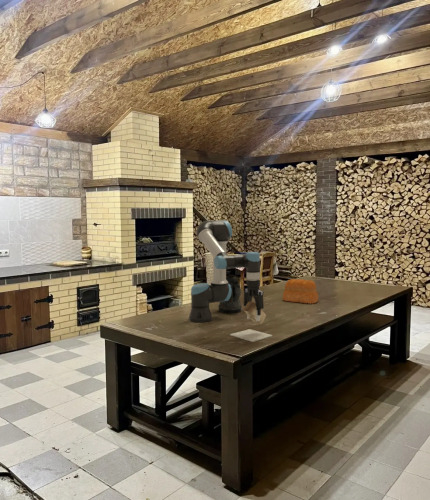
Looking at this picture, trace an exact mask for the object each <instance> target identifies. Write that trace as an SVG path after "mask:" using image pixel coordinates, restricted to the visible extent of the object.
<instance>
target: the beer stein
mask: <svg viewBox="0 0 430 500" xmlns="http://www.w3.org/2000/svg"><path fill="white" fill-rule="evenodd" d="M226 280H227V281H228V284H230V286H231V297H230V299H229V300H228V301H224V302H219V304H218V311H219V313H222V314H238V313H241V311H242V306H243V305H242V304H241V300H240V297H241V294H242V289H241V288H242V287H241V286H240V284H239V281H238V279H236V278H235V277H234V276H233V275H226Z"/></svg>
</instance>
